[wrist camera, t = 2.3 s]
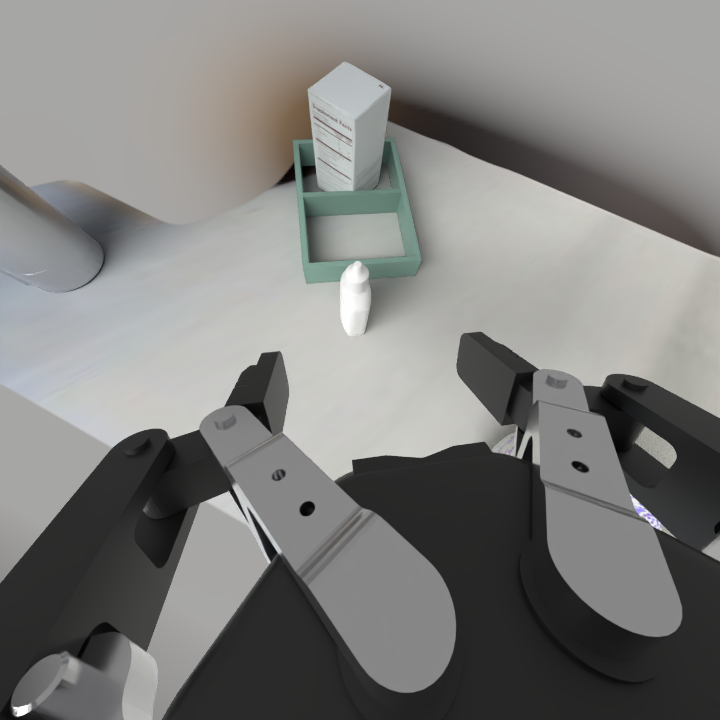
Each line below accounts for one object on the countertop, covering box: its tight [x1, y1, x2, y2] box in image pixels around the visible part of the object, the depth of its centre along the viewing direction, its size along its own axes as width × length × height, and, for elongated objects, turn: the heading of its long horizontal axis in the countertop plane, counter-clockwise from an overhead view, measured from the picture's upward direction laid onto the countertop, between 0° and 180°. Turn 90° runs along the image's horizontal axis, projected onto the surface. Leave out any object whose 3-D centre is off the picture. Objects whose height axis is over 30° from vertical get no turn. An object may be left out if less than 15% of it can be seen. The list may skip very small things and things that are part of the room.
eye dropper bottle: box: [340, 261, 371, 336], centre depth 31 cm, size 4×6×12 cm
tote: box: [293, 138, 422, 284], centre depth 40 cm, size 16×23×4 cm
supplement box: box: [308, 62, 391, 192], centre depth 37 cm, size 7×7×13 cm
